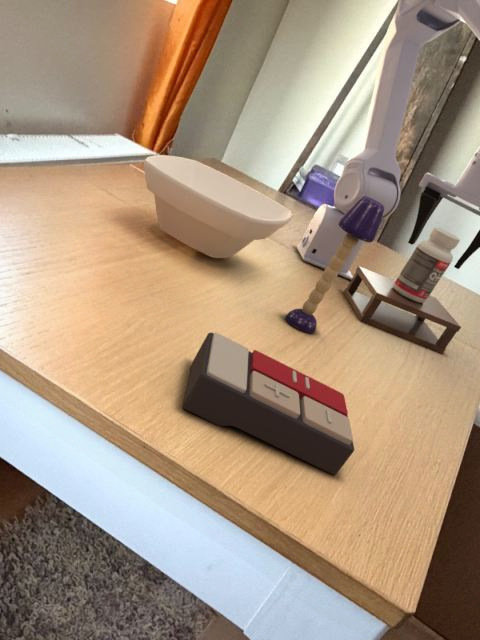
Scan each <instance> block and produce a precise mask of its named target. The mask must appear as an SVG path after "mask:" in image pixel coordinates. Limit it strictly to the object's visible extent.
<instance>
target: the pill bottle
mask: <svg viewBox="0 0 480 640" xmlns="http://www.w3.org/2000/svg"><path fill="white" fill-rule="evenodd" d="M460 241H461V239H460V237H458V236H456V235H455V234H453V233H451V232H449V231H447V230H445V229H443V228H440V227H437V226H435V227H434V228H433V229H432V231H431V232H430V234H429V239H428V240H422V241H420V242H419V243H418V244H417V246H416V247H415V248H414V250H413V252H412V254H411V255H410V257H409V259H408V261H406V263H405V265H404V267H403V268H402V269H401V271H400V273H399V274H398V276H397V278H396V279H395V280H394V281H395V283H394V285H393V288H394V289H395V290H396V291H397V292H398V293H399V294H401V295H403V296H404V297H406V298H408V299H410V300H413V301H415V302H418V303H424V302H425V301H426V300H427V298H428V297H429V295H430V296H431V294H432V292H433V291H434V289H435V288H436V286H437V285H438V283H439V282H440V280H441V279H442V277H443V276H444V274H445V272H446V271H447V270H448V268H449V266H450V265H451V263H452V262H453V260H454V256H453V254H452V253H451V252H452V250H455V248H457V246H458V245H459V243H460Z"/></svg>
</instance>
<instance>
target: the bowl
mask: <svg viewBox="0 0 480 640" xmlns="http://www.w3.org/2000/svg"><path fill="white" fill-rule="evenodd" d="M143 170H144V177H145V183H146V184H145V185H146V189H147V190H148V191H149V192H151V193H152V194H153V197H154V203H155V210H156V216H157V225H158V228H159V229H160V230H161V231H163V232H165V233H166V234H167V235H169V236H171V237H172V238H174V239H175V240H177V241H179V242H180V243H182V244H184V245H186V246H187V247H189V248H191V249H194V250H195V251H198V252H200V253H201V254H204V255H206V256H208V257H210V258H212V259H213V258H214V259H227V258H232V257H234V256H235V255H236V254H238V253H239V252H240V251H241V250H243V249H244V248H246V247H247V246H249V245H250V244H251V243H253V242H254V241H259V240H265V239H267V238H269V237H270V236H272V235H274V233H276V232H277V231H279V230H280V229H281V228H283V227H284V226H286V225H287V224H288V223H289V222H291V220H292V219H293V214H292V211H291V210H290V209H288V208H287V207H285V206H284V205H282V204H281V203H279V202H277V201H276V200H274V199H272V198H270V197H269V196H267V195H265V194H263V193H262V192H259V191H257V190H256V189H254V188H252V187H251V186H249V185H247V184H245V183H243V182H241V181H239V180H237V179H235V178H234V177H231V176H229V175H227V174H226V173H223V172H221V171H219V170H218V169H215V168H213V167H211V166H209V165H207V164H204V163H202V162H200V161H197V160H195V159H191V158H188V157H187V158H186V157H182V156H176V155H167V154H166V155H165V154H156V155H149V156H147V157H146V158H145V159H144V161H143Z"/></svg>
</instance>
